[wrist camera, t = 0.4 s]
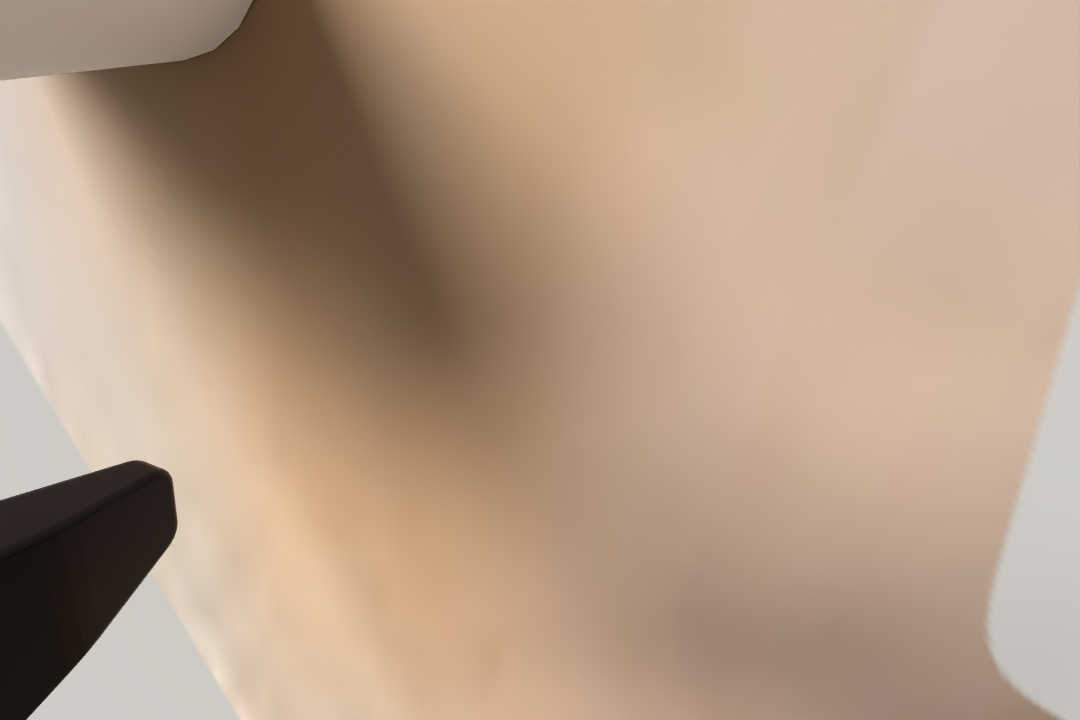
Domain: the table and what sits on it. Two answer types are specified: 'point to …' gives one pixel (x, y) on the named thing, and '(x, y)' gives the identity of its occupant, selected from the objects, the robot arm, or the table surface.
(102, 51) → the candle
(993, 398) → the table surface
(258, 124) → the table surface
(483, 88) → the table surface
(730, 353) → the table surface
